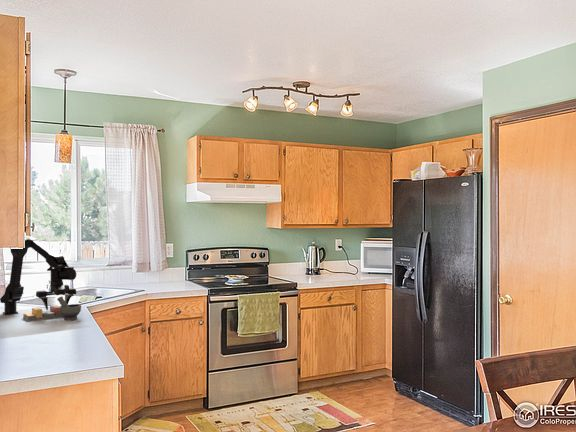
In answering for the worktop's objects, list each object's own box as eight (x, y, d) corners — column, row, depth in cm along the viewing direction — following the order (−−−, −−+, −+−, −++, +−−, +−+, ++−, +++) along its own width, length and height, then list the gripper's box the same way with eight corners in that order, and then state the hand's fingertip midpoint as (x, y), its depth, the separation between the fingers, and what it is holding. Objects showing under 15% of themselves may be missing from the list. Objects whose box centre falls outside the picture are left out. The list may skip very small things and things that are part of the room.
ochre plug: (42, 317, 259) (42, 309, 259) (35, 318, 257) (35, 310, 257) (37, 314, 266) (37, 307, 266) (31, 315, 264) (31, 307, 264)
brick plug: (50, 313, 270) (50, 305, 270) (55, 312, 272) (55, 305, 272) (56, 315, 263) (56, 307, 263) (62, 314, 265) (62, 307, 265)
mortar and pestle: (79, 317, 265) (79, 293, 265) (82, 320, 257) (82, 296, 257) (56, 319, 259) (56, 295, 259) (58, 322, 251) (58, 297, 251)
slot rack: (23, 318, 262) (23, 313, 262) (64, 313, 275) (64, 308, 275) (28, 321, 254) (28, 315, 254) (69, 316, 267) (69, 311, 267)
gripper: (41, 282, 255) (41, 313, 255) (79, 279, 267) (79, 309, 267) (35, 280, 264) (35, 310, 264) (73, 277, 276) (73, 306, 276)
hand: (56, 309), depth 267 cm, fingers open, 9 cm apart
